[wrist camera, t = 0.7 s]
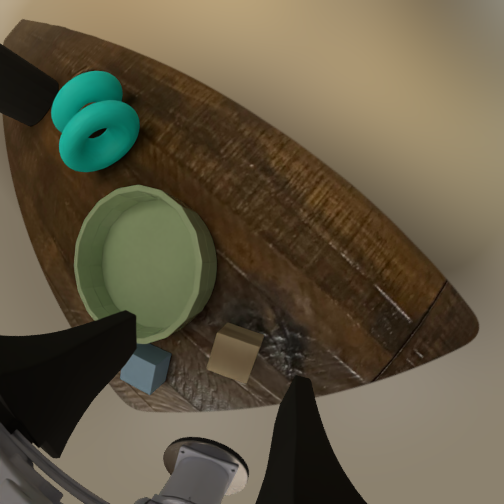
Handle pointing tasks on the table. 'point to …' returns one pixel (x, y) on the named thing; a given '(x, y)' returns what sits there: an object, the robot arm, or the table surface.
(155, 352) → the blue block
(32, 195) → the table surface
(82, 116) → the donuts
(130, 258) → the green shallow bowl
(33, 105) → the vase
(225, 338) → the brown block
